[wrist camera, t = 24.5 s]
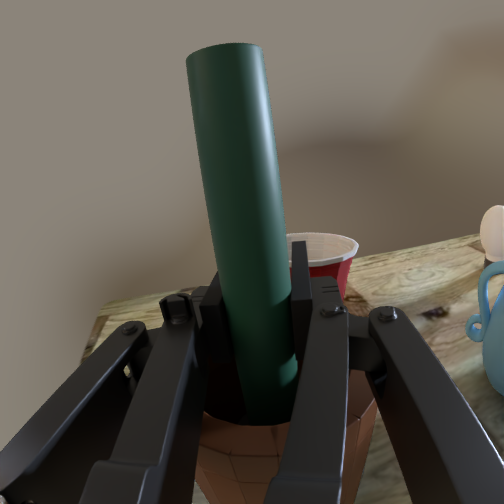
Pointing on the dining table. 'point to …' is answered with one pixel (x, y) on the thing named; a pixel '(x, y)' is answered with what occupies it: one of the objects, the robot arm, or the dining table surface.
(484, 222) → the light bulb
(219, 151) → the green peg on base
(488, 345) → the decorative pot
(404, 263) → the dining table surface
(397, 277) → the dining table surface
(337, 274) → the plastic cup
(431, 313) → the dining table surface
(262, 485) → the brown mortar
